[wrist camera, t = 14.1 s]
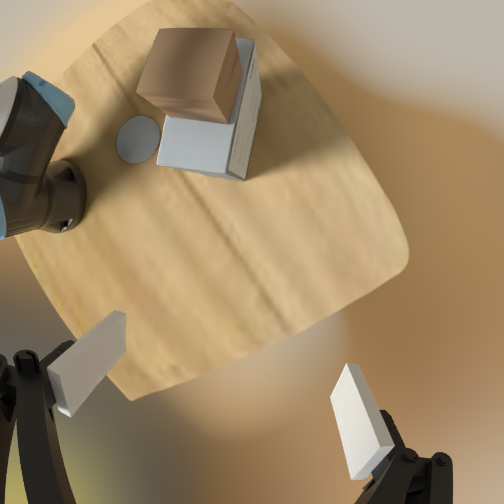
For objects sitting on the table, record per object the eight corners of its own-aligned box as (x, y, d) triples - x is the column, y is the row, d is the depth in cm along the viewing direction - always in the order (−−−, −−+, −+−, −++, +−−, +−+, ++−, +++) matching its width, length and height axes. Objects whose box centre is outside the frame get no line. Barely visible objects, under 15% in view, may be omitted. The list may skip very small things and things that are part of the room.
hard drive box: (218, 91, 41) (188, 33, 22) (262, 96, 41) (258, 36, 22) (200, 176, 44) (154, 164, 25) (245, 183, 44) (229, 174, 25)
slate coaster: (113, 160, 45) (111, 160, 44) (124, 115, 43) (122, 114, 42) (154, 166, 45) (152, 166, 44) (166, 118, 43) (164, 117, 42)
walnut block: (170, 117, 24) (135, 92, 16) (185, 66, 23) (159, 28, 15) (228, 124, 24) (212, 97, 16) (242, 71, 23) (233, 29, 15)
